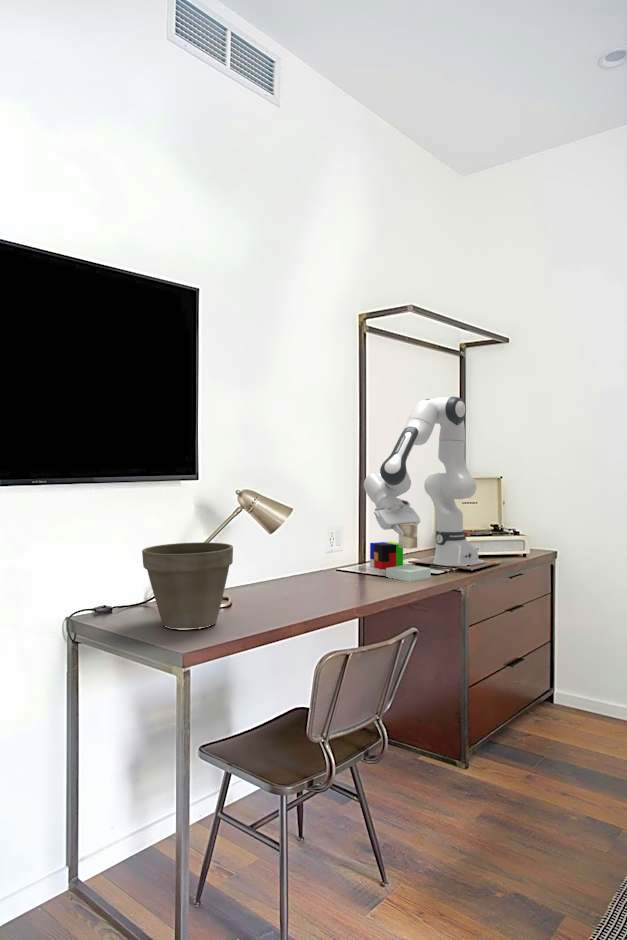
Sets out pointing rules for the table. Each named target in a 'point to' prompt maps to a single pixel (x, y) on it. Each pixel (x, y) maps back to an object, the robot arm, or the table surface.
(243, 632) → the table surface
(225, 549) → the plant pot
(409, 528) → the maple block
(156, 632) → the table surface
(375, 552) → the puzzle toy
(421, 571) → the sage base block
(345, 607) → the table surface
